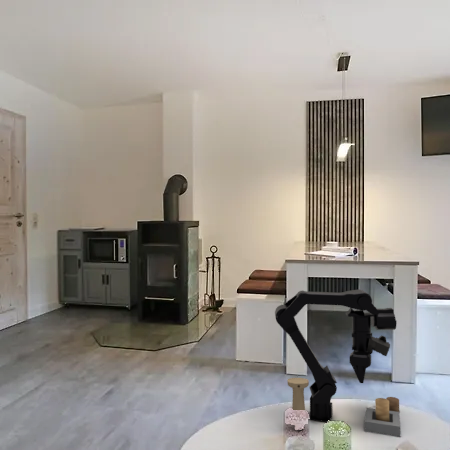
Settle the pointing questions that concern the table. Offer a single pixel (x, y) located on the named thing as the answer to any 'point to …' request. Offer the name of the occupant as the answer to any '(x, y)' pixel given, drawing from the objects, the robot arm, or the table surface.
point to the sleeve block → (382, 423)
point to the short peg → (393, 404)
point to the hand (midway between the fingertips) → (362, 377)
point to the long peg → (382, 409)
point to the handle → (298, 392)
